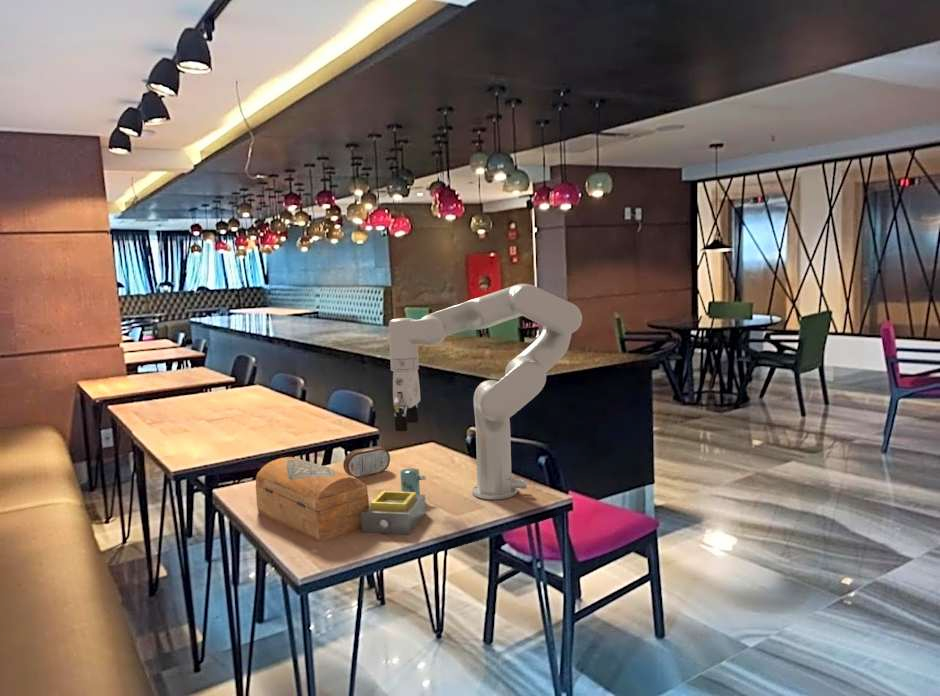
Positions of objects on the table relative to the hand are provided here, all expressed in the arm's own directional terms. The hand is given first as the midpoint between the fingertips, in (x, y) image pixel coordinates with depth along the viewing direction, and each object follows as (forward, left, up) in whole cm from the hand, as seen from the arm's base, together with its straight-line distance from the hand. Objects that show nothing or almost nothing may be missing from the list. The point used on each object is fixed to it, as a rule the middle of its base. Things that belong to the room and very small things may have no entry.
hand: (407, 426), depth 187 cm
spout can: (0, 0, -21) cm, 21 cm away
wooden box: (+21, +17, -21) cm, 34 cm away
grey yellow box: (-1, +17, -20) cm, 27 cm away
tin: (+20, -20, -21) cm, 35 cm away
